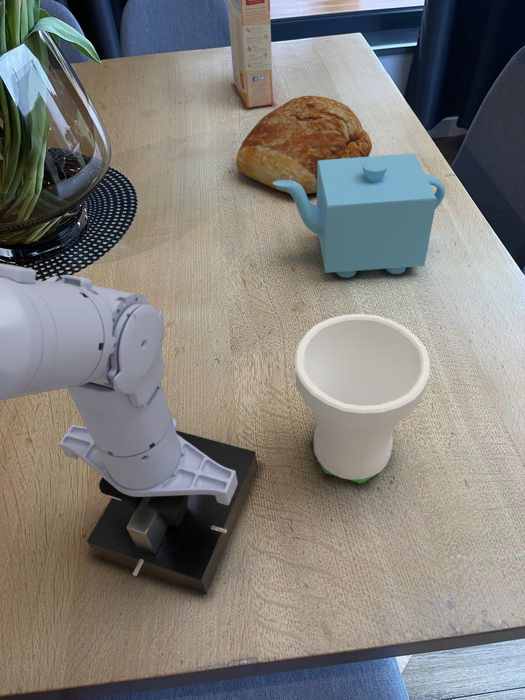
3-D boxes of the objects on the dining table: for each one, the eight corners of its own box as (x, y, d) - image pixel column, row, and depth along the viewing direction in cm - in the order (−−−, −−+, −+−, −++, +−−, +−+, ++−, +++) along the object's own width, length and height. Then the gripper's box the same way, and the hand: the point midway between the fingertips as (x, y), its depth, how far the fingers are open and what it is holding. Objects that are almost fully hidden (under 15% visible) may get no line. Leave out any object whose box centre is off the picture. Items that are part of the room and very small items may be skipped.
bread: (374, 161, 96) (380, 102, 89) (318, 211, 87) (319, 150, 79) (277, 134, 105) (275, 79, 98) (216, 177, 96) (209, 120, 88)
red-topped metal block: (155, 555, 47) (144, 532, 44) (136, 548, 48) (125, 526, 45) (192, 480, 52) (185, 455, 49) (174, 475, 52) (166, 450, 49)
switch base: (204, 611, 47) (198, 597, 45) (84, 568, 50) (73, 553, 48) (261, 468, 56) (259, 451, 54) (156, 440, 59) (150, 422, 57)
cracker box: (275, 105, 114) (270, -13, 99) (246, 110, 114) (237, -9, 98) (259, 80, 124) (253, -32, 109) (233, 84, 123) (223, -28, 108)
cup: (387, 401, 61) (404, 304, 50) (424, 491, 53) (453, 398, 43) (286, 418, 60) (282, 322, 50) (309, 512, 52) (309, 423, 42)
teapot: (423, 227, 82) (439, 137, 72) (443, 274, 75) (463, 181, 65) (274, 237, 83) (270, 149, 73) (278, 286, 75) (274, 195, 65)
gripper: (245, 404, 41) (257, 496, 51) (75, 362, 45) (117, 454, 54) (206, 487, 36) (228, 570, 46) (22, 432, 40) (78, 519, 50)
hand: (166, 512), depth 50 cm, fingers closed on switch base, 2 cm apart
